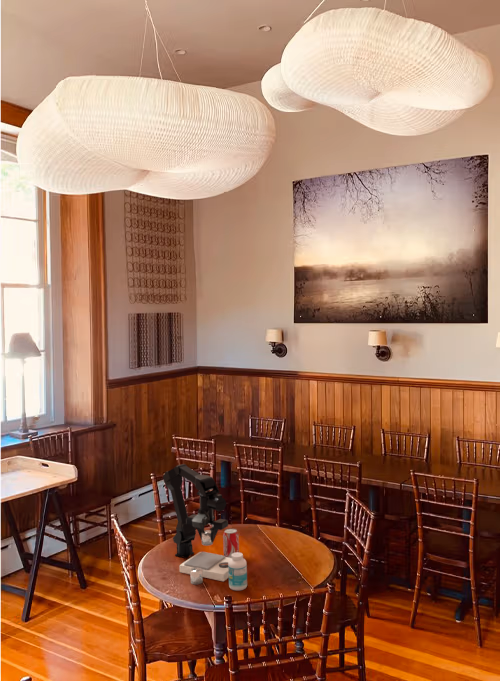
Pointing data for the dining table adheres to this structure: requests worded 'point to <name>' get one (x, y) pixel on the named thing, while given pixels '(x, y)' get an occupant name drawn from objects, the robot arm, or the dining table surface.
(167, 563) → the dining table surface
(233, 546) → the soda can
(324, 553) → the dining table surface
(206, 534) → the cylinder
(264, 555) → the dining table surface
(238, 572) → the pill bottle
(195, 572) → the cylinder
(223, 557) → the scale
